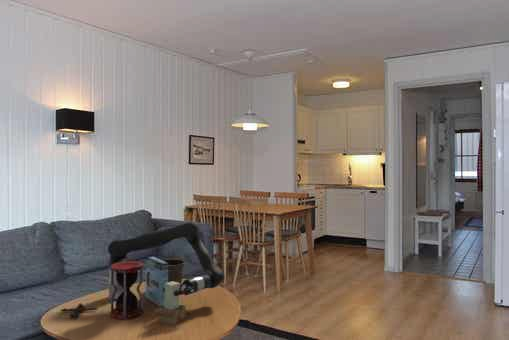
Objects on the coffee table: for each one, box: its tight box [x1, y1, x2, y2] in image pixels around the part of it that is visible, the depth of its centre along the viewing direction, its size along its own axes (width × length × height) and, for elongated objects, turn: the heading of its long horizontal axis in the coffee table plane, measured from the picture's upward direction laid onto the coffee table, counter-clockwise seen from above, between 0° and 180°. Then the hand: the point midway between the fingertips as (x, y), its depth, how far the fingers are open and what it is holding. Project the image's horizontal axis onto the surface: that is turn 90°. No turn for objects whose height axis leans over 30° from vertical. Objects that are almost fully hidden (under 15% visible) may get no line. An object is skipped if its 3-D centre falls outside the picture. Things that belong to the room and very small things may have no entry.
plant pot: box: [162, 258, 186, 284], centre depth 255 cm, size 16×16×16 cm
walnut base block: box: [156, 304, 187, 325], centre depth 203 cm, size 10×10×6 cm
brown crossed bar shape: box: [60, 302, 99, 320], centre depth 210 cm, size 18×4×14 cm
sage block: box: [164, 281, 180, 310], centre depth 203 cm, size 5×5×12 cm
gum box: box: [144, 256, 168, 307], centre depth 230 cm, size 20×5×23 cm, turn 37°
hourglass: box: [109, 261, 144, 320], centre depth 210 cm, size 16×16×25 cm
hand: (169, 292), depth 202 cm, fingers open, 8 cm apart
